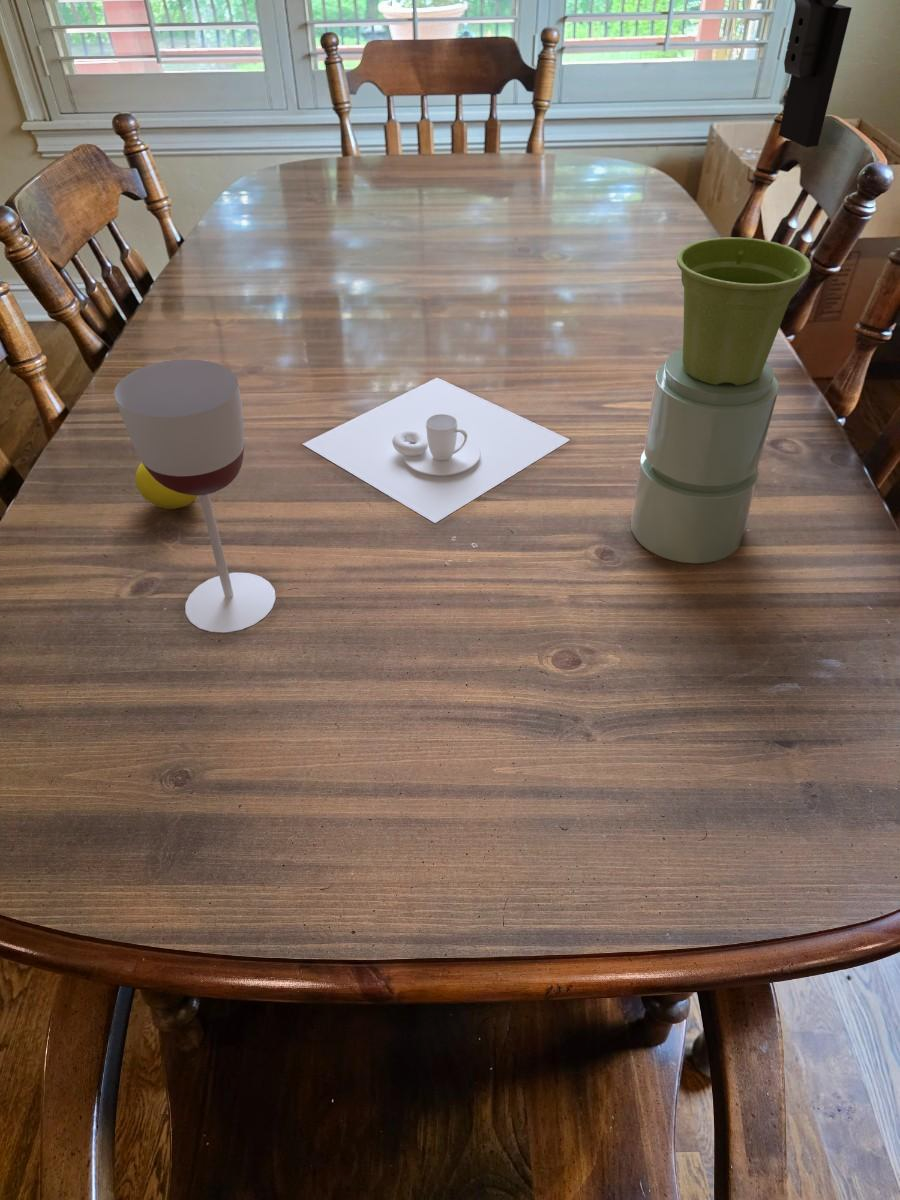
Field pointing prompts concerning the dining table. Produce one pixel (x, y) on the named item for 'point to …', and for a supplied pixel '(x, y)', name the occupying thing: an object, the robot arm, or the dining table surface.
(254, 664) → the dining table surface
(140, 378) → the wineglass
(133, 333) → the dining table surface
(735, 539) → the cup stack
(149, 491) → the lemon
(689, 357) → the plant pot
